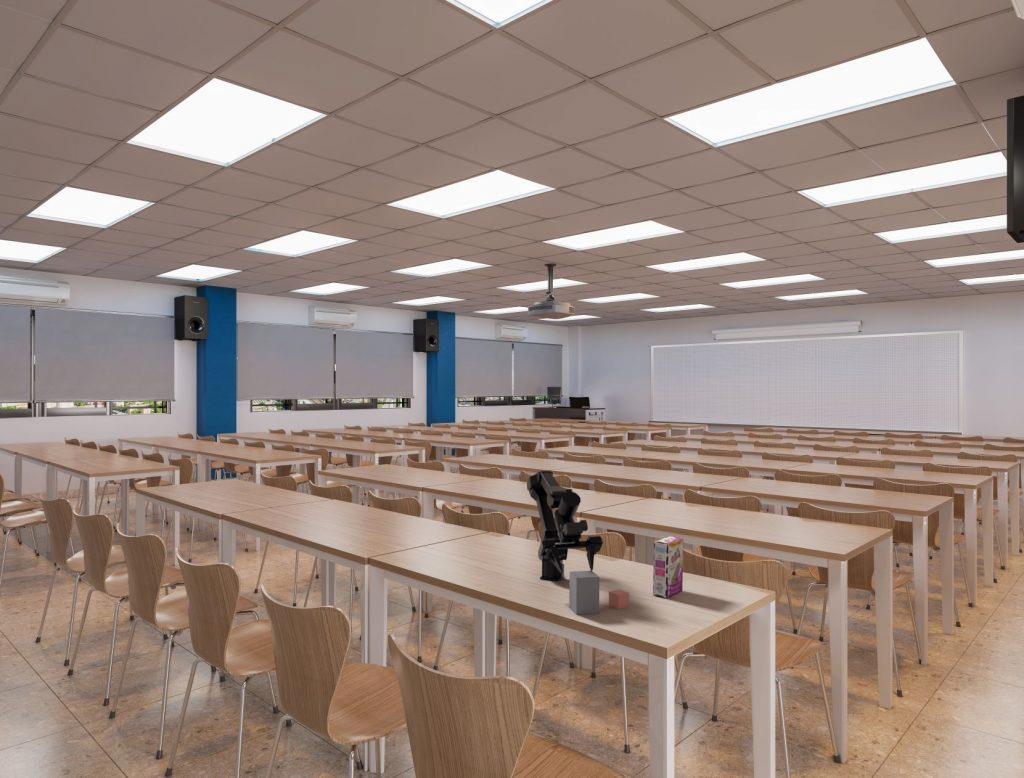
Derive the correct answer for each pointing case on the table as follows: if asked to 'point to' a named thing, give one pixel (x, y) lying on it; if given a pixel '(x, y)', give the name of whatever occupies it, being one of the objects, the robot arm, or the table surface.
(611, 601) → the red block
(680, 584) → the candy bar box
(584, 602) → the grey upright block
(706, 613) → the table surface
